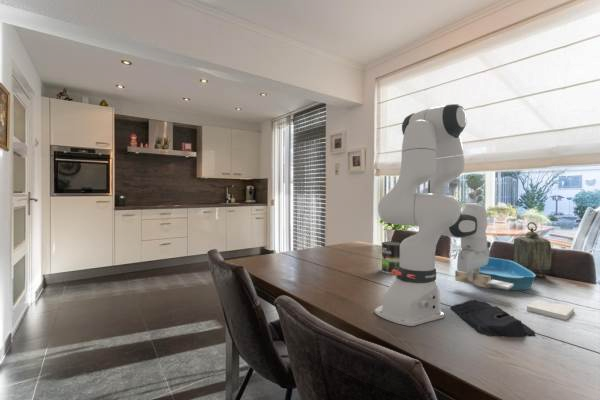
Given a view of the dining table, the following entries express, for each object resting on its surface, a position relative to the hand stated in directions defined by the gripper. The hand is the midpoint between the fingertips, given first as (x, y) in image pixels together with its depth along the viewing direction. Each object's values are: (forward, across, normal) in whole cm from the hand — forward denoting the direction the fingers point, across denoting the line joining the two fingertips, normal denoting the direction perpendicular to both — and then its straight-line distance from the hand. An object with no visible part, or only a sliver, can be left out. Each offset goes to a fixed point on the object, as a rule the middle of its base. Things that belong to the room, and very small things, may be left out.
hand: (473, 279), depth 121 cm
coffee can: (+5, +2, +39) cm, 39 cm away
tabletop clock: (+6, +47, -6) cm, 48 cm away
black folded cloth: (+5, -25, -14) cm, 29 cm away
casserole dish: (+6, +25, +1) cm, 26 cm away
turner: (+2, 0, -4) cm, 4 cm away
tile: (+4, -1, -19) cm, 20 cm away
